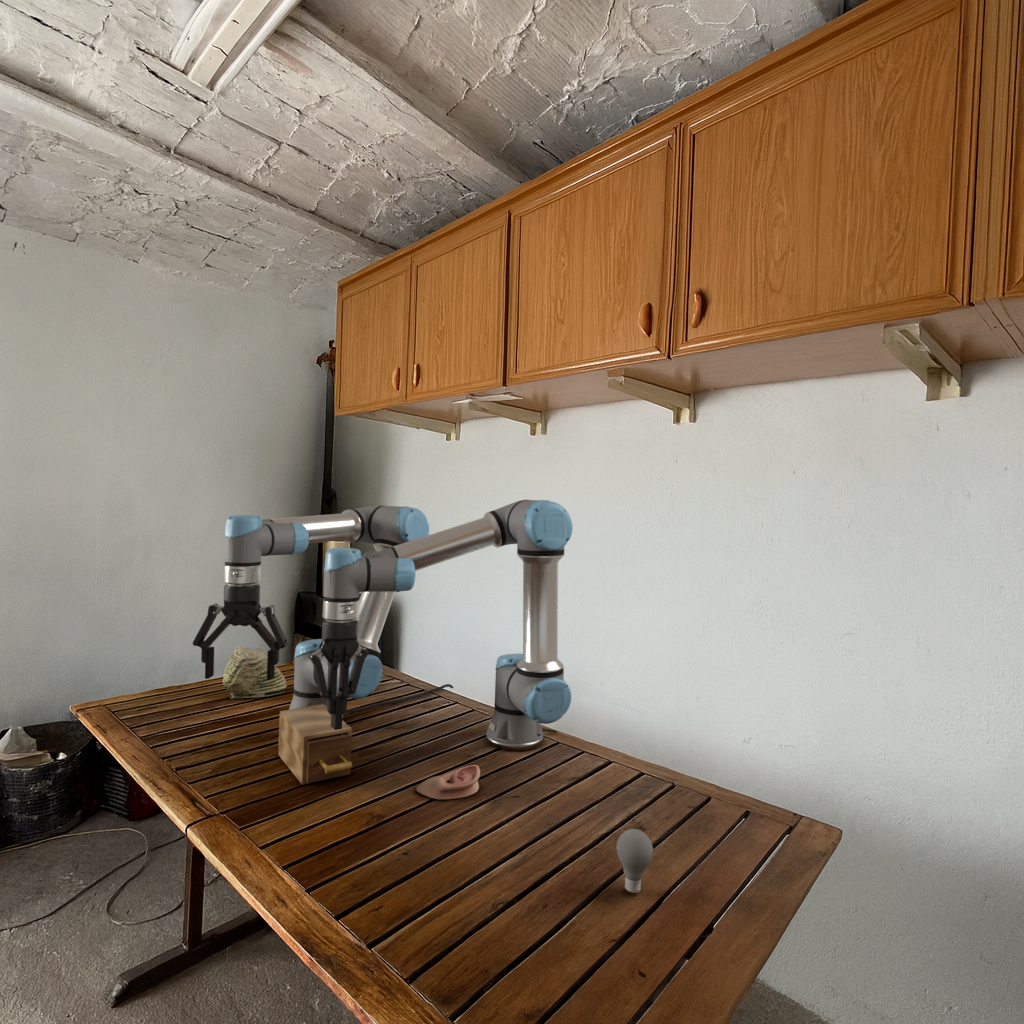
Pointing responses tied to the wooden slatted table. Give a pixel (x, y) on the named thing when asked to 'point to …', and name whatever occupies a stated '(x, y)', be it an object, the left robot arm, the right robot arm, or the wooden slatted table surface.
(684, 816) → the wooden slatted table surface
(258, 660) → the fossil
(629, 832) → the light bulb
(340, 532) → the left robot arm
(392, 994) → the wooden slatted table surface
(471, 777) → the anatomical model
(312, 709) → the cabinet
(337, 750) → the drawer
